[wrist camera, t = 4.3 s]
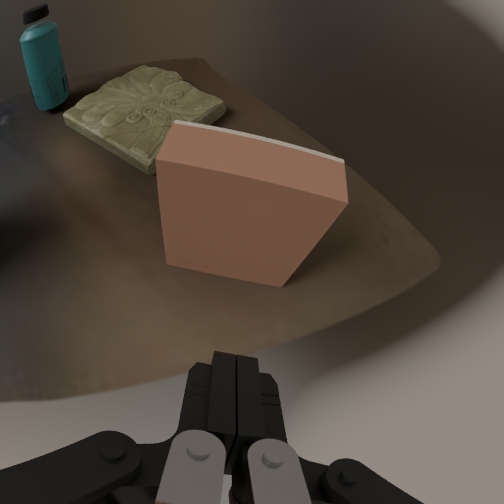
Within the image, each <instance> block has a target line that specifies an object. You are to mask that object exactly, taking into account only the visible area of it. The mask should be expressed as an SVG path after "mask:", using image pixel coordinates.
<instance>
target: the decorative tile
mask: <svg viewBox="0 0 504 504" xmlns="http://www.w3.org/2000/svg"><path fill="white" fill-rule="evenodd" d="M225 111H226V107H225V106H224V102H223V100H221V99H219V98H217V97H214V96H211V95H209V94H206V93H204V92H202V91H199V90H197V89H195V87H193V86H192V85H191V84H190V83H188V82H184V81H182V77H181V76H179V75H178V74H177V73H176V72H174V71H170V72H169V71H165V70H163V69H159V68H155V67H148V66H145V65H142V66H140V67H138V68H136V69H134V70H132V71H130V72H128V73H127V74H125V75H123V76H122V77H117V78H115V79H113V80H111V81H109V82H107V83H105V84H104V85H103V86H102V87H101V88H100V89H99V90H97V91H96V92H94V93H92V94H89V95H87V96H85V97H84V98H82V99H81V100H80V101H79V102H78V103H77V104H76V105H75V106H74V107H72V108H70V109H69V110H67V111H66V112H65V113H64V114H63V117H64V120H65V123H66V125H68V126H69V127H71V128H73V129H74V130H76V131H77V132H79V133H81V134H82V135H84V136H86V137H87V138H89V139H90V140H92V141H94V142H95V143H97V144H99V145H100V146H102V147H103V148H105V149H107V150H108V151H110V152H111V153H113V154H115V155H116V156H118V157H119V158H121V159H123V160H124V161H126V162H127V163H129V164H131V165H132V166H134V167H135V168H137V169H139V170H140V171H142V172H144V173H145V174H147V175H148V176H152V175H154V174H155V173H156V161H155V159H156V157H157V155H158V153H159V151H160V149H161V147H162V145H163V143H164V141H165V139H166V137H167V135H168V133H169V131H170V129H171V127H172V125H173V123H174V121H175V120H180V121H186V122H193V123H198V124H204V125H211V124H212V123H214V122H215V121H216V120H217V119H219V118H220V117H221V116H222V115H224V113H225Z"/></svg>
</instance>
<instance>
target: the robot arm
mask: <svg viewBox="0 0 504 504" xmlns="http://www.w3.org/2000/svg"><path fill="white" fill-rule="evenodd" d="M280 406H281V403H280V398H279V391H278V386H277V383H276V382H275V380H274V379H273V378H272V376H271V375H270V374H267V373H259V367H258V359H257V358H254V357H248V356H241V355H236V357H235V354H229V353H224V352H218V351H214V354H213V359H212V363H211V365H210V364H205V363H200V362H197V363H196V364H195V365H194V366H193V367H192V368H191V369H190V370H189V373H188V378H187V383H186V388H185V393H184V398H183V404H182V409H181V414H180V420H179V425H178V429H177V431H176V433H175V434H174V435H173V436H172V437H171V438H170V439H168V440H166V441H164V442H161V443H155V444H136V442H135V441H134V440H133V439H132V438H130V437H129V436H127V435H125V434H123V433H120V432H117V431H102V432H99V433H96V434H94V435H92V436H89V437H87V438H85V439H83V440H80V441H78V442H75V443H73V444H71V445H69V446H66V447H63V448H61V449H58V450H56V451H53V452H51V453H48V454H45V455H43V456H40V457H37V458H35V459H32V460H29V461H26V462H23V463H20V464H17V465H14V466H11V467H8V468H5V469H2V470H0V504H220V500H221V491H222V483H223V474H228V475H232V486H231V488H230V490H229V504H423V503H422V502H420V501H418V500H417V499H415V498H414V497H412V496H410V495H409V494H407V493H406V492H404V491H402V490H401V489H399V488H398V487H396V486H395V485H393V484H391V483H390V482H388V481H387V480H385V479H384V478H382V477H381V476H379V475H378V474H376V473H375V472H374V471H372V470H370V469H369V468H368V467H366V466H365V465H363V464H362V463H360V462H359V461H356V460H353V459H348V458H344V459H338V460H336V461H334V462H333V463H331V464H330V466H327V465H323V464H319V463H315V462H311V461H308V460H305V459H303V458H301V457H299V456H298V455H297V453H296V452H295V450H294V449H293V448H292V447H291V446H290V445H288V443H287V438H286V432H285V427H284V421H283V415H282V409H281V407H280Z"/></svg>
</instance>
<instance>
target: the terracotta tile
mask: <svg viewBox="0 0 504 504" xmlns="http://www.w3.org/2000/svg"><path fill="white" fill-rule="evenodd" d="M155 161H156V174H157V186H158V197H159V206H160V216H161V224H162V232H163V240H164V248H165V255H166V262H167V265H172V266H176V267H181V268H186V269H190V270H195V271H200V272H205V273H209V274H214V275H219V276H224V277H229V278H234V279H239V280H244V281H249V282H254V283H259V284H265V285H270V286H275V287H280V288H281V287H282V286H283V285H284V284H285V282H286V281H287V280H288V279H289V278H290V276H291V275H292V274H293V273H294V271H295V270H296V269H297V268H298V266H299V265H300V264H301V263H302V262H303V260H304V259H305V258H306V257H307V255H308V254H309V253H310V252H311V250H312V249H313V248H314V247H315V245H316V244H317V243H318V242H319V240H320V239H321V238H322V236H323V235H324V234H325V233H326V231H327V230H328V229H329V228H330V226H331V225H332V224H333V222H334V221H335V220H336V219H337V217H338V216H339V215H340V213H341V212H342V211H343V209H344V208H345V207H346V205H347V204H348V195H347V184H346V175H345V166H344V160H343V159H340V158H337V157H334V156H331V155H327V154H324V153H321V152H317V151H314V150H311V149H307V148H304V147H300V146H296V145H293V144H289V143H285V142H282V141H278V140H274V139H270V138H266V137H261V136H257V135H253V134H248V133H244V132H239V131H235V130H230V129H225V128H220V127H215V126H210V125H204V124H198V123H193V122H186V121H180V120H175V121H174V123H173V125H172V127H171V129H170V131H169V133H168V135H167V137H166V139H165V141H164V143H163V145H162V147H161V149H160V151H159V153H158V155H157V157H156V159H155Z"/></svg>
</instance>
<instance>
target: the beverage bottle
mask: <svg viewBox="0 0 504 504" xmlns="http://www.w3.org/2000/svg"><path fill="white" fill-rule="evenodd" d="M48 14H49V10H48V5H47V4H42V5H39V6H36V7H33V8H31V9H29V10H27V11H26V12H24V14H23V24H24V25H26V24H30V23H32V22H35V21H38V20H40V19H42V18H44V17H46V16H47V15H48ZM20 43H21V47H22V52H23V56H24V60H25V65H26V69H27V74H28V78H29V82H30V85H31V86H30V87H31V88H32V89H31V90H32V94H33V97H34V98H35V99H34V100H35V101H36V102H35V104H36V105H37V107H38V108H39V109H40V110H49V109H52V108H55V107H57V106H58V105H60V104H62V103H63V102H64V101H65V100H66V99H67V98H68V95H69V90H68V87H69V86H67V84H68V82H67V81H66V80H67V78H66V75H65V70H64V66H63V60H62V54H61V48H60V44H59V37H58V30H57V23H55V22H53V21H50V20H48V21H43V22H40V23H37V24H35V25H33V26H31V27H29V28H28V29H27V30H26V31H25V32H24V33H23V35H22V37H21V38H20Z"/></svg>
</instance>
